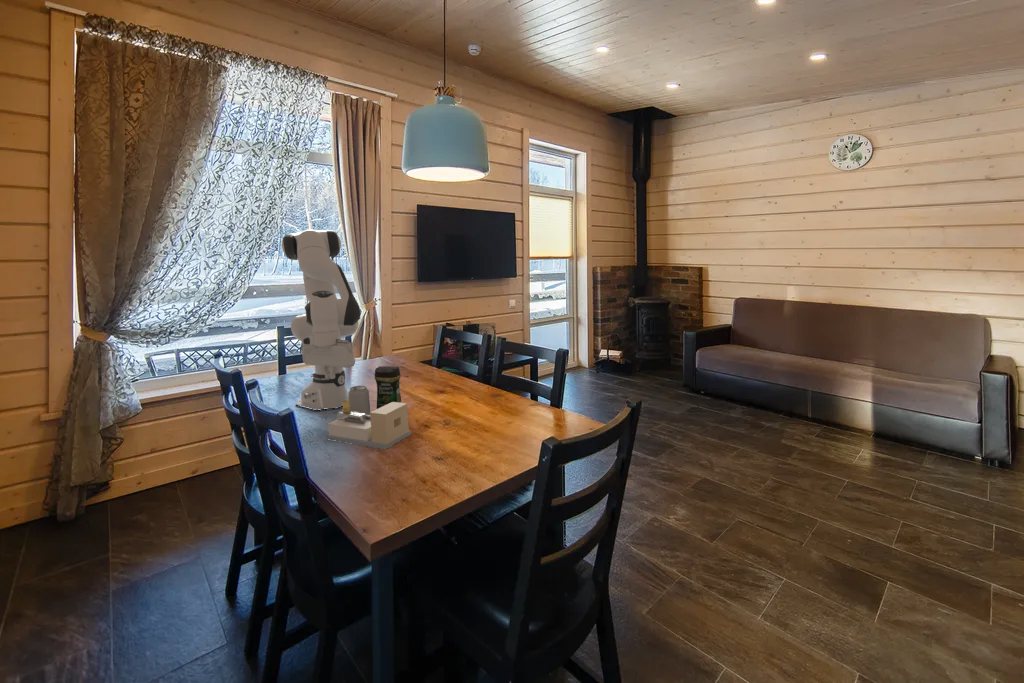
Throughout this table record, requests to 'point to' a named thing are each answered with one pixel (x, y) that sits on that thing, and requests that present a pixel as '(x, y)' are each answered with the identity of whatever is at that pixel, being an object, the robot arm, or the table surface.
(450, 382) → the table surface
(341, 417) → the bolt
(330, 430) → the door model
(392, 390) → the coffee jar
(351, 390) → the can
